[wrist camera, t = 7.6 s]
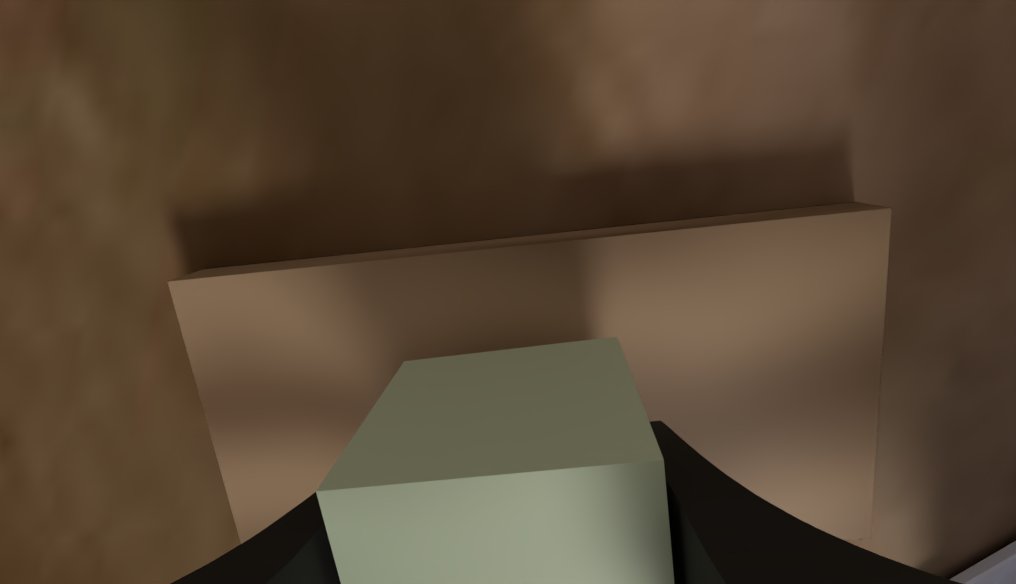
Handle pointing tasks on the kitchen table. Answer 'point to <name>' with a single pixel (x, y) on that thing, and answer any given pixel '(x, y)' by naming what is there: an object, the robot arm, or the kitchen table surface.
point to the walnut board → (559, 319)
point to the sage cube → (503, 474)
